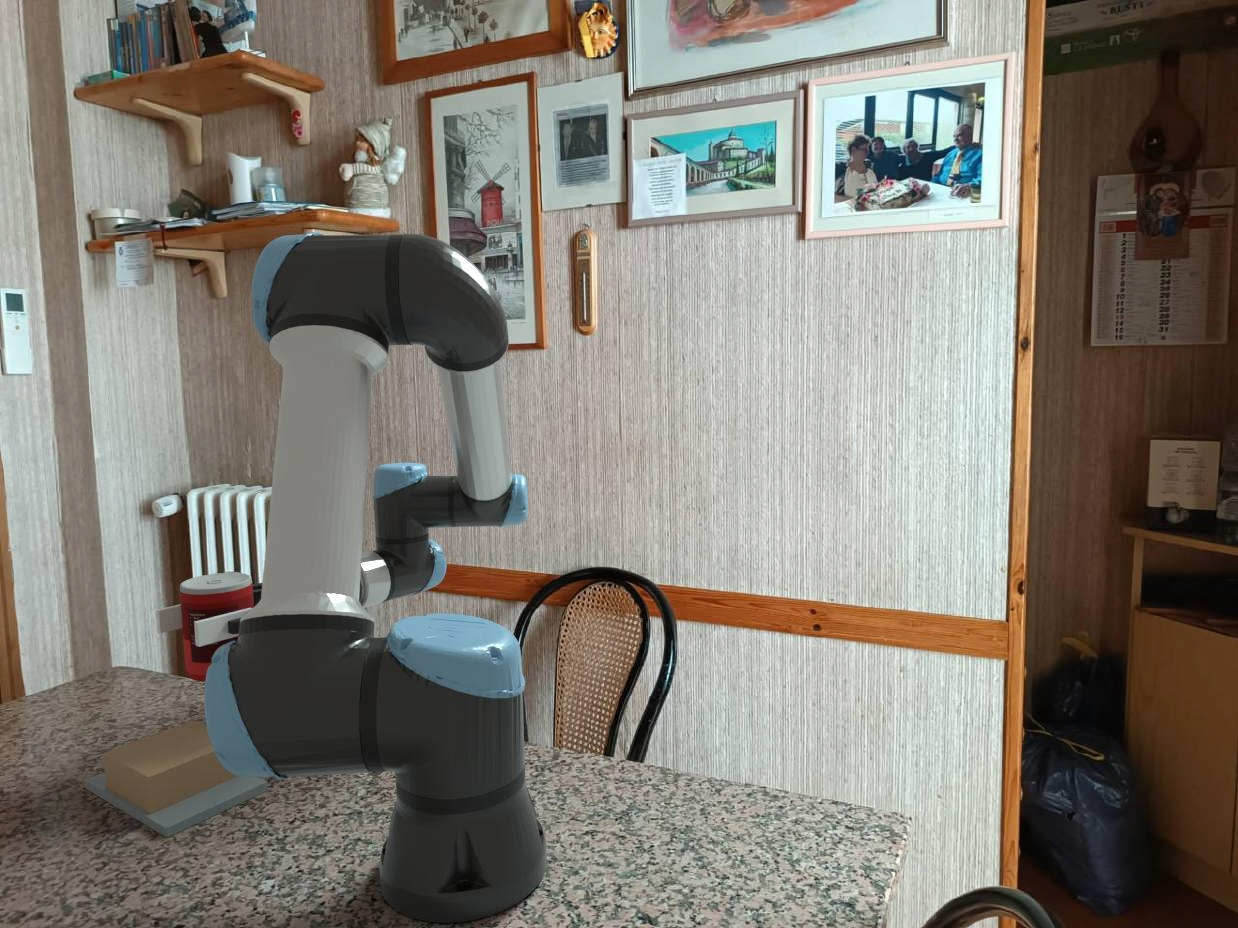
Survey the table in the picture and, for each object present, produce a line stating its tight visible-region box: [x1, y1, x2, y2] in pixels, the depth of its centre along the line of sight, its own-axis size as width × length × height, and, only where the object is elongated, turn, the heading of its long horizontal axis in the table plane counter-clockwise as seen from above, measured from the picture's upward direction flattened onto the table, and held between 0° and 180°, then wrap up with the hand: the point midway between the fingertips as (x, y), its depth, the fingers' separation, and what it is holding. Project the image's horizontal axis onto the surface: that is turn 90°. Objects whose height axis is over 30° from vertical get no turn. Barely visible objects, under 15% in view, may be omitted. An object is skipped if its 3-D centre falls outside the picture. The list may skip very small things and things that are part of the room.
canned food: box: [179, 572, 254, 683], centre depth 94 cm, size 8×8×11 cm
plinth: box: [84, 719, 269, 838], centre depth 89 cm, size 18×11×5 cm, turn 56°
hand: (177, 627), depth 90 cm, fingers closed on canned food, 8 cm apart
